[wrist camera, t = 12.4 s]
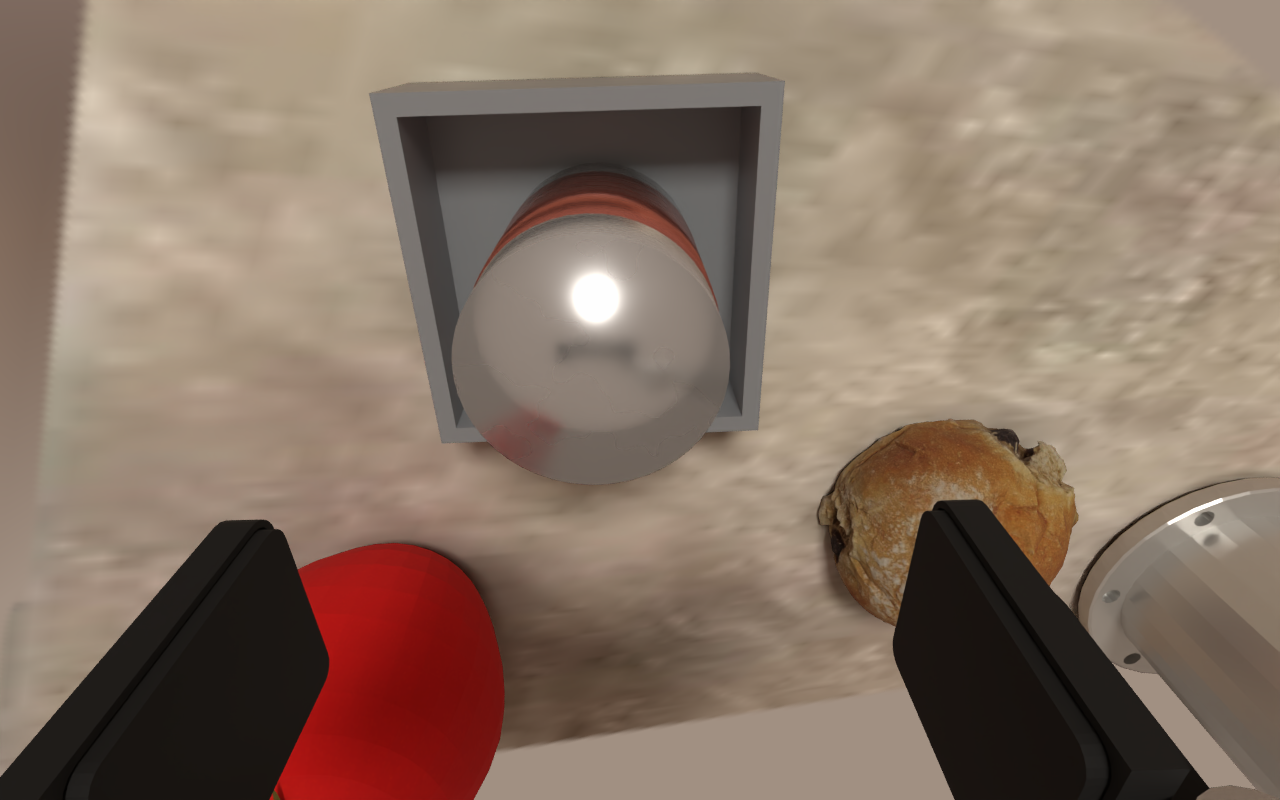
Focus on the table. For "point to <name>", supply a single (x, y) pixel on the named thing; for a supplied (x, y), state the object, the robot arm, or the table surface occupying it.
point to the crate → (568, 136)
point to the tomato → (398, 681)
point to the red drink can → (593, 332)
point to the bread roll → (942, 470)
